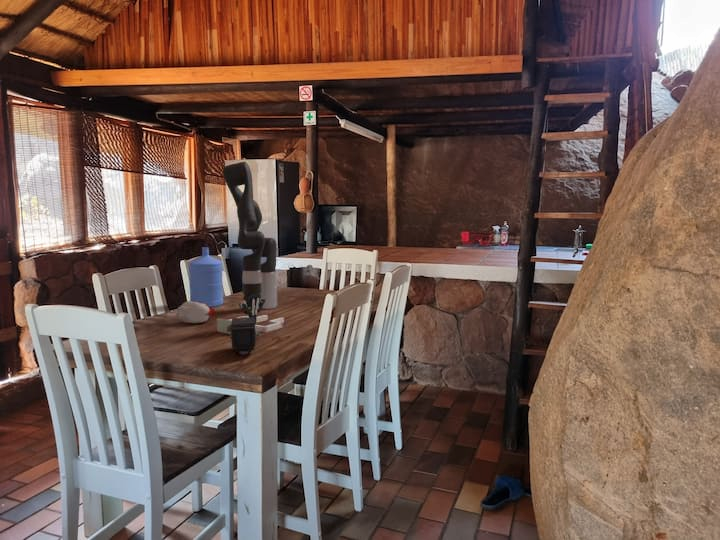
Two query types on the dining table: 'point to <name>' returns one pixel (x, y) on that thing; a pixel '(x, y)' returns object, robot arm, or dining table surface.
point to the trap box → (271, 325)
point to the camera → (243, 334)
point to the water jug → (206, 280)
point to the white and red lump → (194, 312)
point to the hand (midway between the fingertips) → (252, 324)
